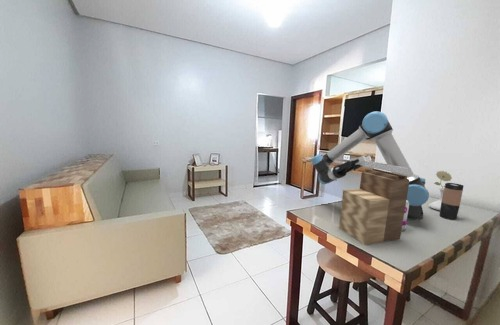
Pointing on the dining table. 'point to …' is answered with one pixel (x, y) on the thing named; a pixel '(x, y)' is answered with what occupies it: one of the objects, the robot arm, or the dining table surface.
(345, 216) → the walnut stand
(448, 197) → the travel mug
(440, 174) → the flower in vase
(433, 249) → the dining table surface
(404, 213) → the supplement can
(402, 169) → the clear long thin bar
